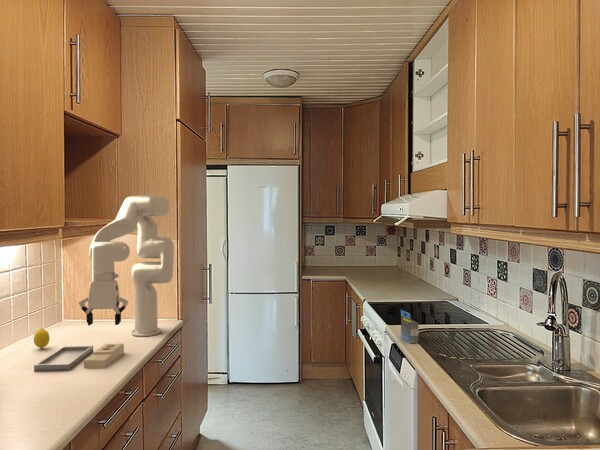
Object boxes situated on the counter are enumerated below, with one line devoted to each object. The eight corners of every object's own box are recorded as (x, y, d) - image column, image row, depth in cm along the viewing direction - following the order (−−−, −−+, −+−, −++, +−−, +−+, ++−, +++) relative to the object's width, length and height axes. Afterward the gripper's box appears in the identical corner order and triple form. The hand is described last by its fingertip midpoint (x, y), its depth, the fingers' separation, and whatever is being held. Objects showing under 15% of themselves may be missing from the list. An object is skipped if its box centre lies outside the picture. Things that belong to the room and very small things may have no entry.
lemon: (50, 346, 200) (50, 326, 200) (48, 350, 195) (48, 329, 195) (35, 347, 198) (34, 327, 198) (32, 351, 193) (32, 331, 193)
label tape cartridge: (419, 343, 201) (419, 313, 201) (410, 344, 200) (410, 313, 200) (408, 337, 210) (408, 308, 210) (400, 338, 209) (400, 309, 209)
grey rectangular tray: (62, 352, 192) (62, 346, 192) (93, 351, 192) (93, 345, 192) (34, 371, 169) (33, 365, 169) (68, 370, 170) (68, 364, 170)
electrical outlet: (83, 357, 172) (105, 343, 190) (83, 369, 173) (105, 354, 191) (104, 357, 172) (124, 343, 190) (104, 369, 172) (124, 354, 190)
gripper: (130, 275, 185) (131, 322, 185) (83, 276, 184) (83, 322, 184) (124, 278, 177) (124, 326, 178) (74, 278, 177) (75, 327, 177)
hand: (103, 324), depth 181 cm, fingers open, 9 cm apart
